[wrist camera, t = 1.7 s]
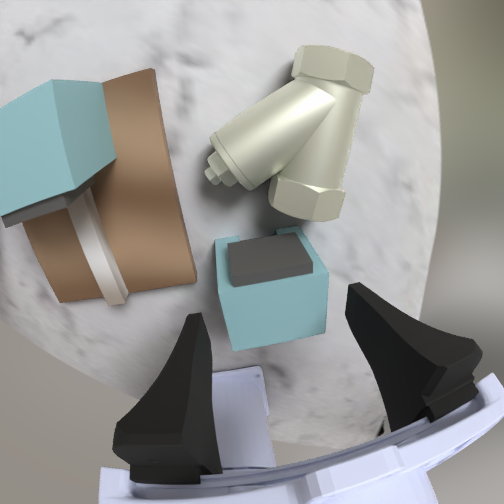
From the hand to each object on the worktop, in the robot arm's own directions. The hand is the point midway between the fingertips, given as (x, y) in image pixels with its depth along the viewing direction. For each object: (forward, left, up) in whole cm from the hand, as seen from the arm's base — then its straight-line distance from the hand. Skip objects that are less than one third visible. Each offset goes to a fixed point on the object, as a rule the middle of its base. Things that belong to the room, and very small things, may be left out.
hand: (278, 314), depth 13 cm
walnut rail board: (+6, +9, -5) cm, 12 cm away
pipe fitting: (+8, -2, -5) cm, 10 cm away
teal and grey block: (0, 0, -5) cm, 5 cm away
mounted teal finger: (+10, +9, -4) cm, 14 cm away
